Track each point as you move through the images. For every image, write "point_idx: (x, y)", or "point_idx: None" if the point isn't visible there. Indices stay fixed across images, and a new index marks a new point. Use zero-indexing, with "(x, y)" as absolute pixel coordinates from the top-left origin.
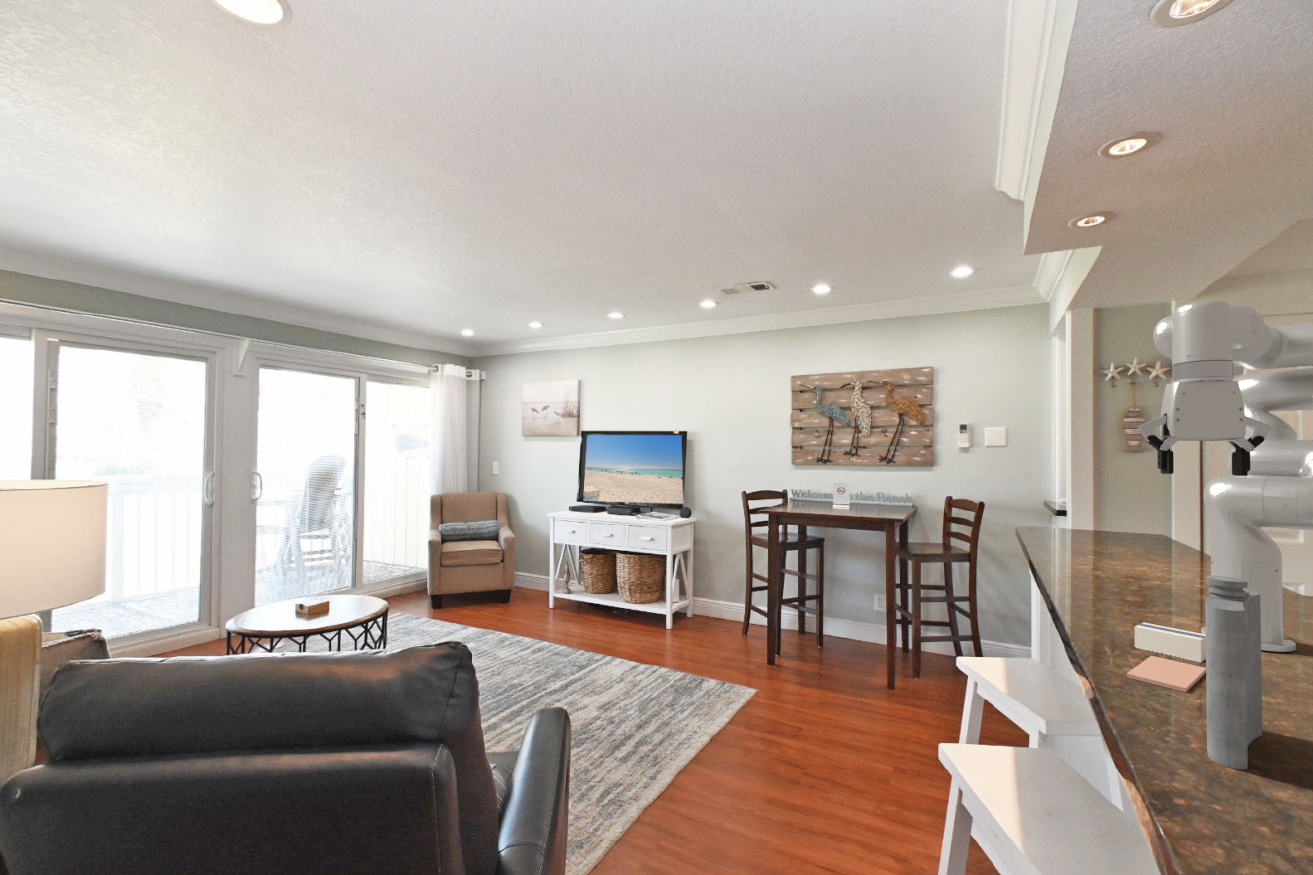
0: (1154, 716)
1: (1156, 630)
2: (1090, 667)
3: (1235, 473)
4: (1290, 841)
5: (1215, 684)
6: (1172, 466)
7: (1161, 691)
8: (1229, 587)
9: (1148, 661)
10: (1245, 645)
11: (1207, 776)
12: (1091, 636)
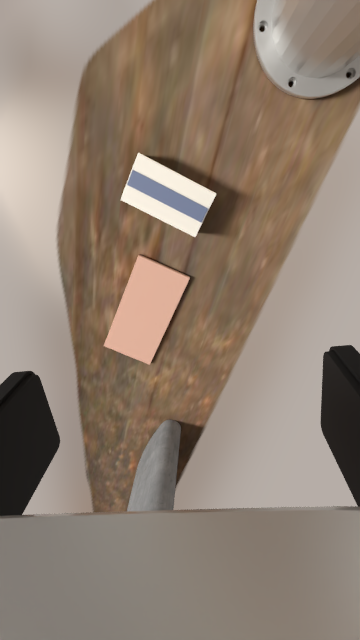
0: (115, 430)
1: (147, 208)
2: (73, 327)
3: (324, 386)
4: None
5: None
6: (42, 468)
7: (129, 370)
8: None
9: (131, 285)
10: None
11: (128, 500)
12: (75, 163)
